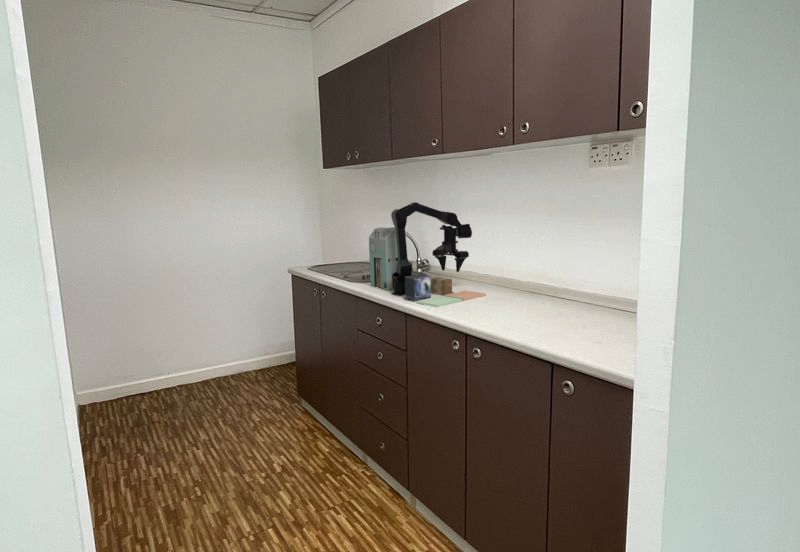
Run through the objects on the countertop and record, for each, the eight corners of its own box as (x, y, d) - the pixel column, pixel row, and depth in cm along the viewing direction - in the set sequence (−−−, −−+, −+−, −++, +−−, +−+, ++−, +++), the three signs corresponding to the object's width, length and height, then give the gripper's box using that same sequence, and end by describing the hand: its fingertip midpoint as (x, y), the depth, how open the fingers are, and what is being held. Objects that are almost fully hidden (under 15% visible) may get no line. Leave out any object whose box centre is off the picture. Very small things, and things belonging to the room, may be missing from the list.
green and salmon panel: (416, 303, 222) (416, 300, 222) (465, 292, 244) (465, 290, 244) (437, 307, 214) (436, 304, 214) (485, 295, 235) (485, 293, 235)
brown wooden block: (423, 292, 247) (422, 277, 246) (431, 290, 251) (431, 276, 250) (444, 295, 237) (444, 280, 236) (453, 293, 241) (453, 279, 240)
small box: (414, 302, 226) (413, 278, 224) (404, 300, 231) (403, 276, 229) (432, 298, 232) (431, 275, 231) (422, 296, 237) (421, 273, 236)
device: (370, 286, 268) (368, 228, 263) (383, 284, 272) (381, 227, 267) (387, 290, 254) (385, 229, 250) (400, 289, 258) (398, 228, 254)
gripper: (424, 239, 249) (424, 271, 252) (453, 241, 236) (453, 275, 238) (440, 237, 257) (440, 269, 259) (469, 239, 243) (469, 272, 246)
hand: (450, 271), depth 250 cm, fingers open, 9 cm apart
